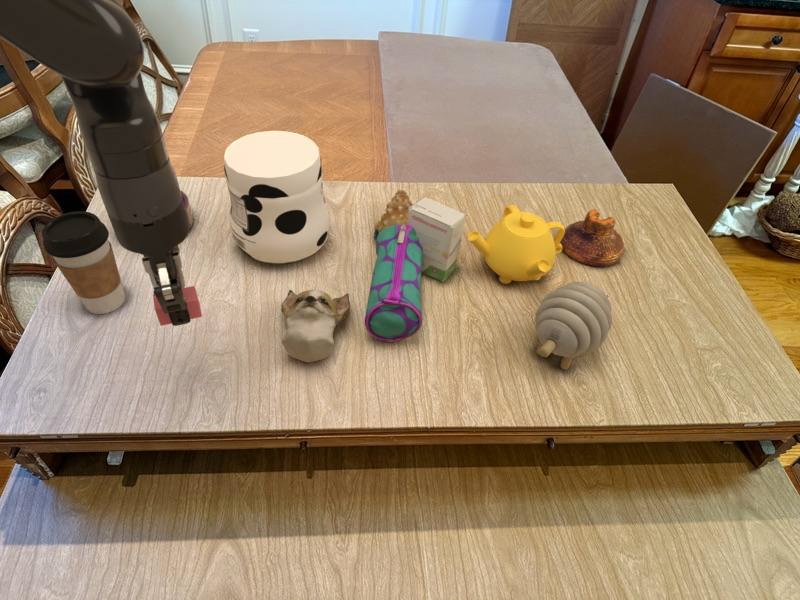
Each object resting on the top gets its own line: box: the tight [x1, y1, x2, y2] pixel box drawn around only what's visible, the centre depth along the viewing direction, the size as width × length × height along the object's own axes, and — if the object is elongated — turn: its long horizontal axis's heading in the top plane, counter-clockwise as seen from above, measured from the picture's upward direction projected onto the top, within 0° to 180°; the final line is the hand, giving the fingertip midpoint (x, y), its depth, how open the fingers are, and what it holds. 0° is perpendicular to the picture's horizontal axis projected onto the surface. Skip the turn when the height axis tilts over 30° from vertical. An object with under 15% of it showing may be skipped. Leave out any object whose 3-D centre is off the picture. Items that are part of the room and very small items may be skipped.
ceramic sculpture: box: [280, 289, 351, 363], centre depth 80 cm, size 11×9×15 cm
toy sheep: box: [534, 281, 613, 370], centre depth 79 cm, size 11×17×11 cm, turn 145°
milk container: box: [223, 130, 331, 265], centre depth 92 cm, size 17×17×18 cm
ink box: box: [407, 196, 467, 283], centre depth 92 cm, size 9×5×12 cm, turn 57°
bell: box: [560, 208, 625, 267], centre depth 99 cm, size 12×12×7 cm
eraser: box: [152, 285, 203, 326], centre depth 68 cm, size 5×3×3 cm, turn 112°
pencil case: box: [364, 224, 424, 343], centre depth 86 cm, size 21×9×10 cm, turn 177°
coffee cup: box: [41, 210, 126, 315], centre depth 80 cm, size 8×8×15 cm
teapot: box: [467, 204, 566, 285], centre depth 92 cm, size 14×14×11 cm
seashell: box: [374, 189, 414, 234], centre depth 101 cm, size 9×8×10 cm
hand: (180, 313), depth 69 cm, fingers closed on eraser, 2 cm apart
